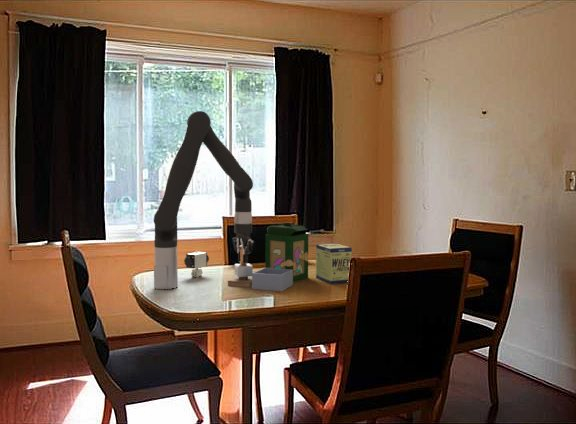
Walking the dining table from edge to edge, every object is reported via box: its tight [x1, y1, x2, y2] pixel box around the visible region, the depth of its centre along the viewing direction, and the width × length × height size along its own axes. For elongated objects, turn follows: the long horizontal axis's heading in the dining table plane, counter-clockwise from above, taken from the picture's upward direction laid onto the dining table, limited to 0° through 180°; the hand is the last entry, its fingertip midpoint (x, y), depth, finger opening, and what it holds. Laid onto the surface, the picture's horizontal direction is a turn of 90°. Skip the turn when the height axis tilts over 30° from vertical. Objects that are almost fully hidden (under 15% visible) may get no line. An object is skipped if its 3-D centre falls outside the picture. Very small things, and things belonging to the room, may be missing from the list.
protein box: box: [315, 243, 353, 285], centre depth 251 cm, size 10×16×16 cm
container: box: [264, 222, 309, 283], centre depth 254 cm, size 15×18×25 cm
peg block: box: [234, 248, 254, 277], centre depth 242 cm, size 6×6×12 cm
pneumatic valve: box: [183, 250, 210, 278], centre depth 258 cm, size 6×12×12 cm, turn 146°
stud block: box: [227, 276, 252, 288], centre depth 243 cm, size 10×10×6 cm
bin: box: [251, 267, 294, 292], centre depth 237 cm, size 13×13×7 cm
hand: (243, 262), depth 242 cm, fingers closed on peg block, 2 cm apart
